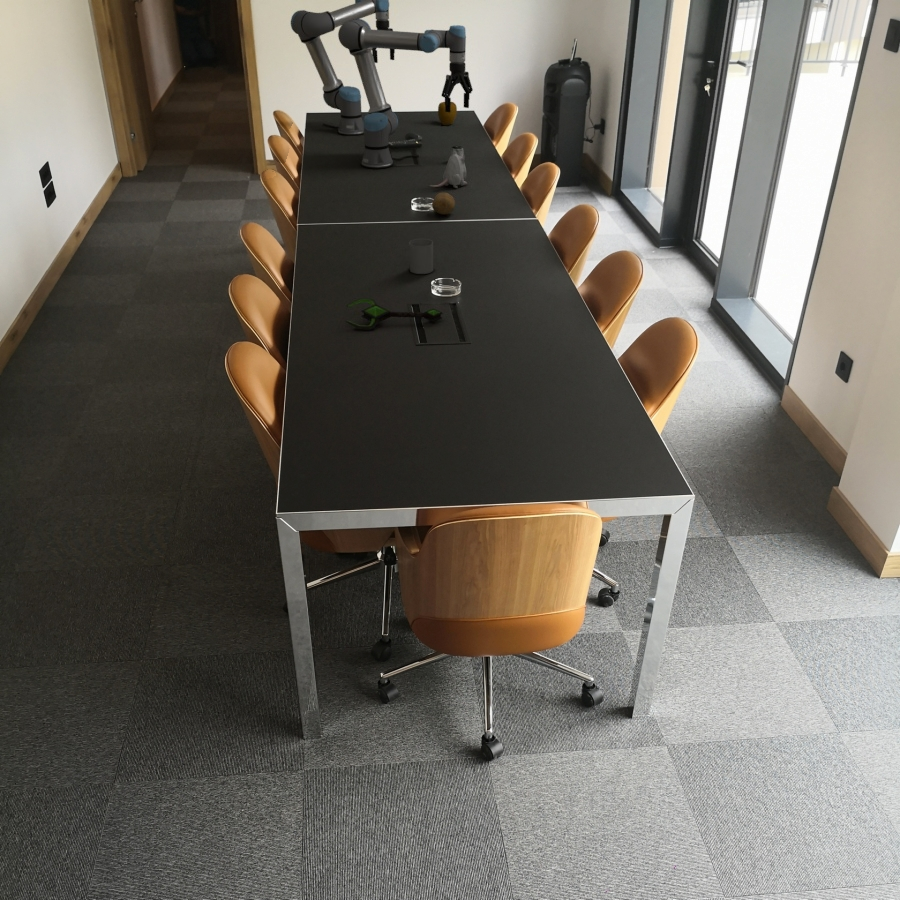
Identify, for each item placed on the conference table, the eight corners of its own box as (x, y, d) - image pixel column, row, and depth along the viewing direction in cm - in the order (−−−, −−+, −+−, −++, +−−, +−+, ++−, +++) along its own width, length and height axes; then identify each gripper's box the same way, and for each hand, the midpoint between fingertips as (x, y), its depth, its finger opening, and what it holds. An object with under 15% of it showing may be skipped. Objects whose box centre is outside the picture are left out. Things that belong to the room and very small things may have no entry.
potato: (453, 208, 369) (453, 189, 365) (456, 218, 357) (456, 199, 353) (431, 208, 368) (430, 189, 364) (432, 218, 356) (432, 199, 352)
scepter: (442, 294, 271) (346, 291, 269) (443, 324, 264) (344, 322, 262) (441, 307, 276) (346, 304, 274) (442, 337, 269) (345, 335, 267)
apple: (456, 126, 498) (456, 103, 491) (437, 126, 498) (437, 102, 492) (456, 122, 508) (456, 99, 501) (438, 122, 508) (438, 99, 501)
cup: (409, 265, 311) (408, 238, 306) (432, 265, 312) (431, 238, 307) (410, 274, 304) (409, 246, 299) (433, 273, 305) (433, 246, 299)
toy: (472, 184, 399) (472, 151, 391) (436, 195, 384) (436, 161, 376) (457, 180, 404) (458, 147, 396) (422, 191, 389) (421, 157, 381)
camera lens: (458, 165, 428) (458, 148, 424) (448, 162, 432) (448, 146, 427) (465, 162, 433) (466, 146, 428) (456, 160, 436) (456, 144, 432)
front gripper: (446, 66, 397) (446, 115, 409) (480, 59, 413) (479, 106, 425) (433, 64, 401) (434, 112, 413) (468, 58, 417) (467, 104, 429)
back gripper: (371, 22, 472) (373, 64, 484) (402, 18, 488) (403, 59, 500) (361, 21, 476) (363, 63, 488) (393, 17, 492) (394, 57, 504)
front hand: (457, 109), depth 419 cm, fingers open, 13 cm apart
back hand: (383, 61), depth 494 cm, fingers open, 13 cm apart
